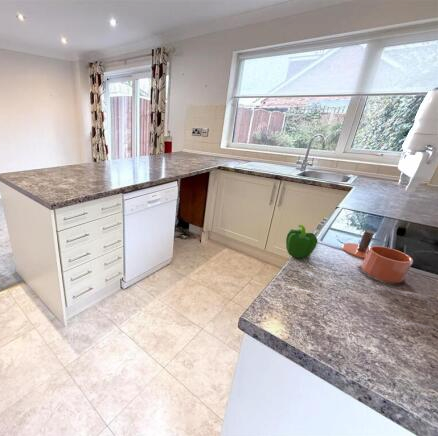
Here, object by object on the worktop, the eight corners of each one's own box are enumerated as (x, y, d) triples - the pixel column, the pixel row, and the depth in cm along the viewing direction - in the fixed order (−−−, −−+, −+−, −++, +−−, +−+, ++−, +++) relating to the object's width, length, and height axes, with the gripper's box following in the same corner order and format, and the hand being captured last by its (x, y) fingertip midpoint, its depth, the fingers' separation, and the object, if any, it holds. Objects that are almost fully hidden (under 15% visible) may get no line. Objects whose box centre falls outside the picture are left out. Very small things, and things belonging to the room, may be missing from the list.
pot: (391, 269, 75) (401, 249, 72) (409, 287, 67) (421, 265, 64) (355, 262, 78) (363, 243, 75) (368, 279, 70) (378, 258, 67)
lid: (371, 249, 86) (380, 228, 83) (386, 264, 77) (397, 241, 74) (337, 243, 89) (345, 223, 86) (348, 257, 80) (357, 235, 77)
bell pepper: (314, 264, 76) (324, 235, 72) (284, 258, 79) (293, 230, 75) (308, 251, 84) (317, 224, 80) (281, 246, 86) (288, 220, 82)
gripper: (454, 148, 64) (429, 198, 69) (429, 142, 80) (410, 184, 85) (420, 146, 67) (398, 194, 72) (402, 141, 83) (386, 181, 88)
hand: (404, 188), depth 79 cm, fingers open, 8 cm apart
